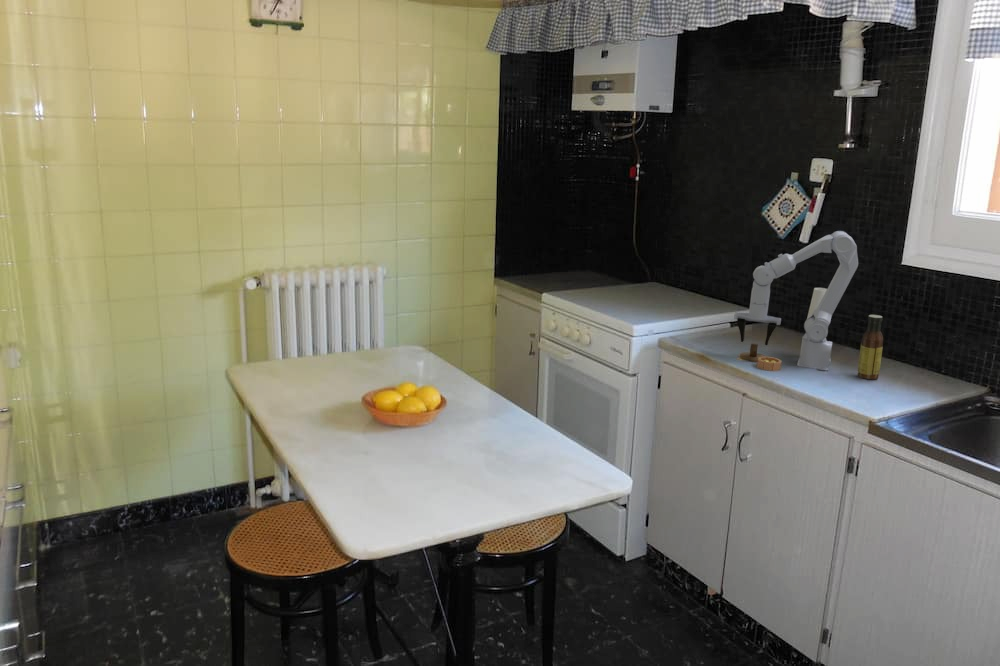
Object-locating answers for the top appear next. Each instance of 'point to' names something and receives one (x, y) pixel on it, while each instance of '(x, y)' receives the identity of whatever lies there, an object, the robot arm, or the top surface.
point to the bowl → (769, 363)
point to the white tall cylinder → (816, 300)
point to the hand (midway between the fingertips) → (754, 342)
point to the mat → (740, 358)
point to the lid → (751, 354)
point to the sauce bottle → (871, 349)
